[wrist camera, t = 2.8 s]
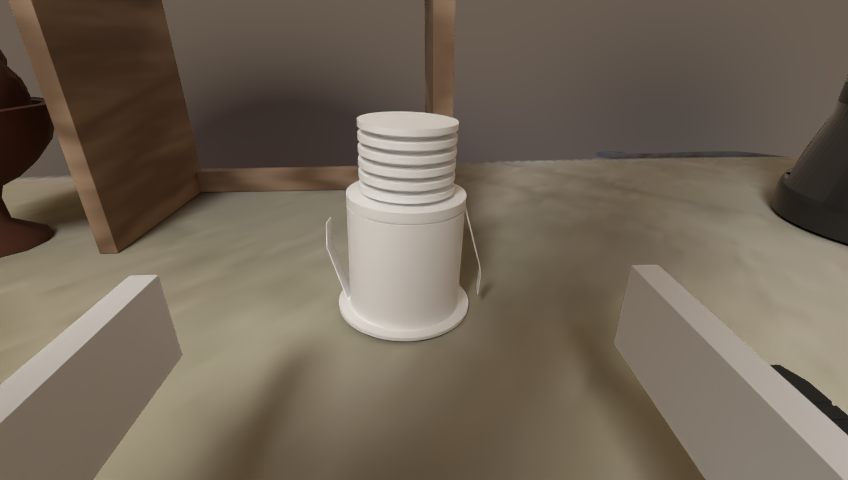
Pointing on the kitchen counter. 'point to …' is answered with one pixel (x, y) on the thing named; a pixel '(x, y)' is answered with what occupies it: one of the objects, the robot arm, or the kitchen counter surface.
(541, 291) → the kitchen counter surface
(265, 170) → the counter shelf
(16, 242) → the ice cream bowl
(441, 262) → the downlight
